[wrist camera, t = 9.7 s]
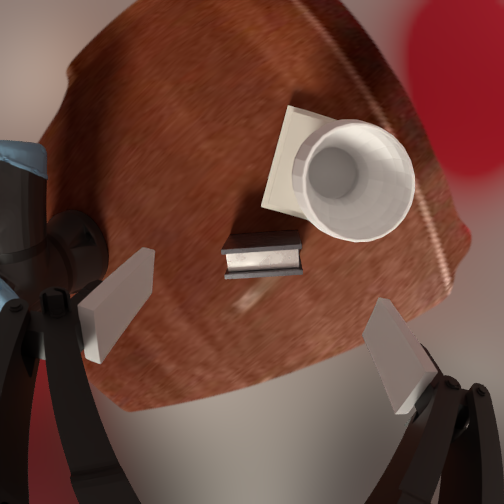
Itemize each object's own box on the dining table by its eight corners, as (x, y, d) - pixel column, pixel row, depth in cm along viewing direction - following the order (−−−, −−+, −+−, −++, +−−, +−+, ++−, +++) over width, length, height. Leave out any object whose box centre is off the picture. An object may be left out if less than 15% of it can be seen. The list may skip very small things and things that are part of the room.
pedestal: (261, 202, 40) (260, 207, 37) (287, 109, 36) (288, 104, 32) (352, 229, 41) (360, 236, 37) (379, 140, 36) (389, 139, 32)
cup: (316, 114, 32) (342, 88, 18) (382, 163, 33) (441, 172, 19) (270, 182, 35) (267, 200, 21) (338, 227, 37) (372, 272, 22)
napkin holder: (232, 259, 44) (225, 278, 37) (229, 234, 42) (221, 249, 36) (298, 255, 43) (302, 274, 36) (297, 229, 41) (301, 244, 35)
